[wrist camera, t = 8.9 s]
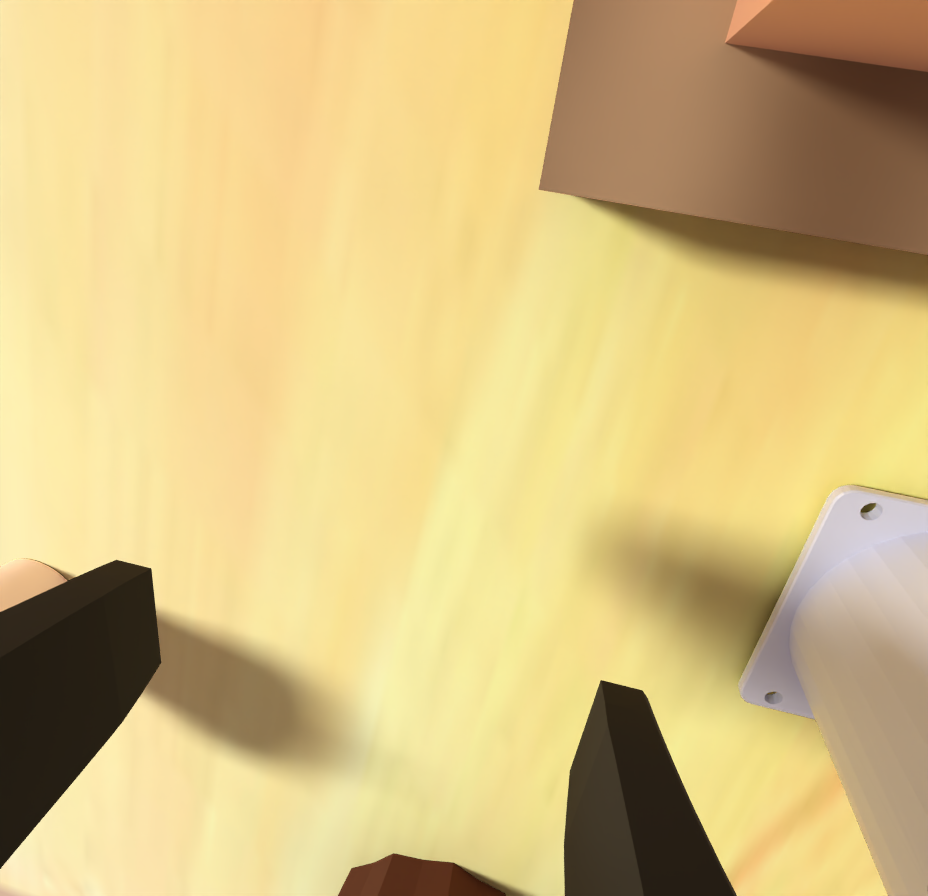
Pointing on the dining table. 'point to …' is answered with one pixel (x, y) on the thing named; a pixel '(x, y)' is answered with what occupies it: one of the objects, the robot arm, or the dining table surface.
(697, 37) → the walnut block
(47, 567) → the smoothie
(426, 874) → the muffin
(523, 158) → the dining table surface
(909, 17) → the terracotta cube
